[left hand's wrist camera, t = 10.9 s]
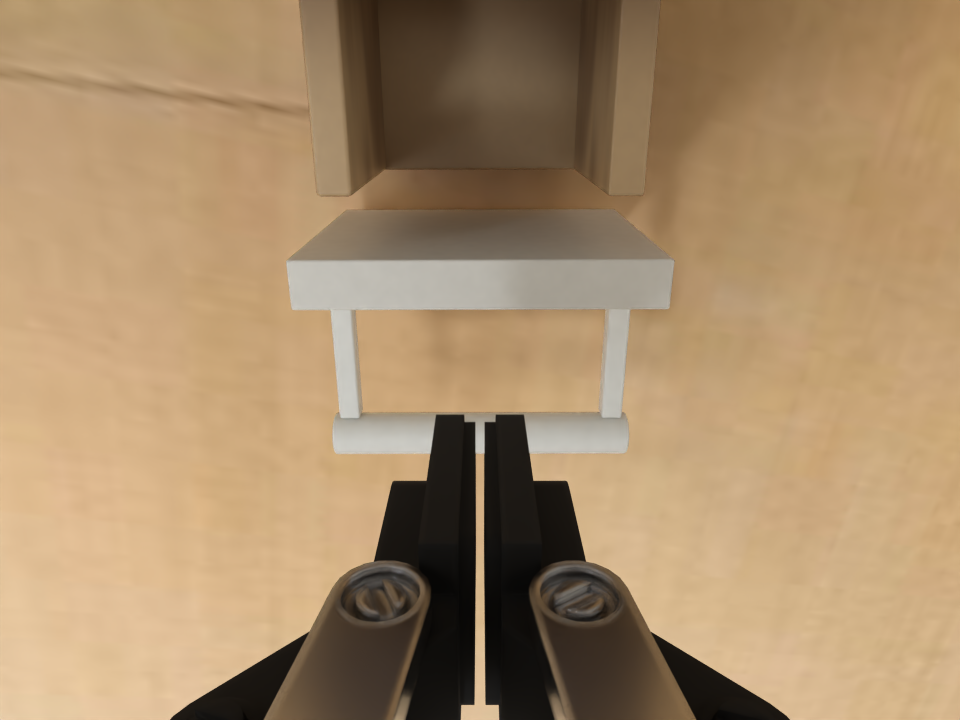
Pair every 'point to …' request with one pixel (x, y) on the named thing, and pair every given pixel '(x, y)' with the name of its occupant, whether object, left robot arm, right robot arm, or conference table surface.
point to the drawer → (480, 145)
